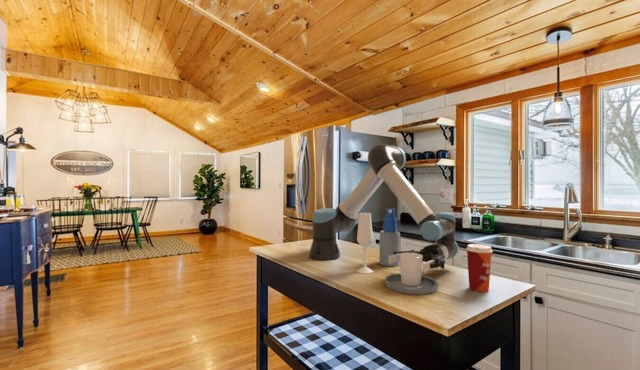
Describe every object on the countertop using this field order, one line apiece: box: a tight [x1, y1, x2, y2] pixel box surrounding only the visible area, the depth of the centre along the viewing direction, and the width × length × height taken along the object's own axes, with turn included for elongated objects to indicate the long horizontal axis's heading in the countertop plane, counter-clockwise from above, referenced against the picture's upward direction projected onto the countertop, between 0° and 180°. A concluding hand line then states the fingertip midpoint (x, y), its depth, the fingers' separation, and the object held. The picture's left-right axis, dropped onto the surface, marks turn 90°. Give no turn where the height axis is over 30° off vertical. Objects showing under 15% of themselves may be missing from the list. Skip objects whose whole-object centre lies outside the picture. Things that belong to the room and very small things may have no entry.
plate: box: [384, 272, 439, 296], centre depth 113 cm, size 18×18×2 cm
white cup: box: [399, 253, 423, 286], centre depth 113 cm, size 8×8×10 cm
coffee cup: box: [466, 243, 494, 293], centre depth 110 cm, size 8×8×15 cm
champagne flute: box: [356, 212, 374, 274], centre depth 132 cm, size 7×7×24 cm
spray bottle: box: [378, 208, 401, 267], centre depth 143 cm, size 9×9×25 cm
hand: (405, 263), depth 111 cm, fingers open, 13 cm apart
